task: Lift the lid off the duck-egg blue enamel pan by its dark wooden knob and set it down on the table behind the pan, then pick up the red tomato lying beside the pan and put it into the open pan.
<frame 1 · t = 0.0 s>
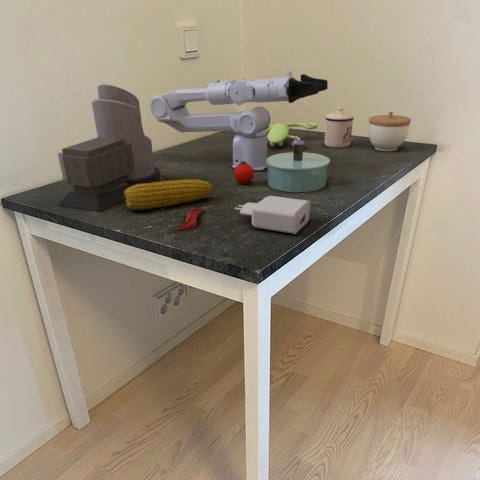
hand: (322, 86, 121), 22 cm above the table, tool horizontal, fingers open, 7 cm apart
charger: (268, 223, 102), on the table
food: (169, 205, 113), on the table
teacup with lid: (338, 144, 162), on the table
pan lid: (297, 161, 122), point 5 cm above the table, touching pan
tomato: (243, 173, 125), point 3 cm above the table
lidded bowl: (385, 149, 155), on the table
grey piece: (118, 190, 124), on the table
pan: (296, 183, 125), on the table
cayenne pepper: (191, 221, 104), on the table
figurine: (284, 143, 165), on the table
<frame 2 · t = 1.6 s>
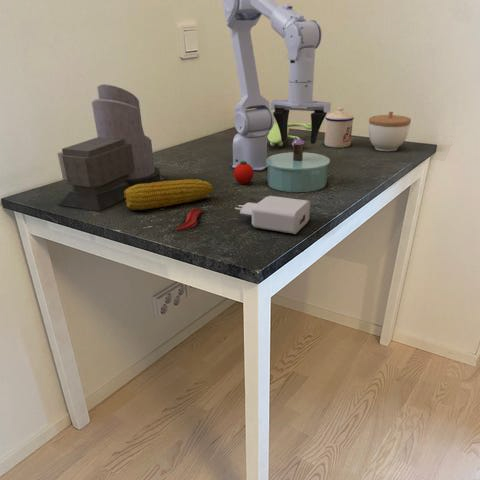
hand: (298, 141, 120), 10 cm above the table, tool pointing down, fingers open, 7 cm apart
nothing on the table moved.
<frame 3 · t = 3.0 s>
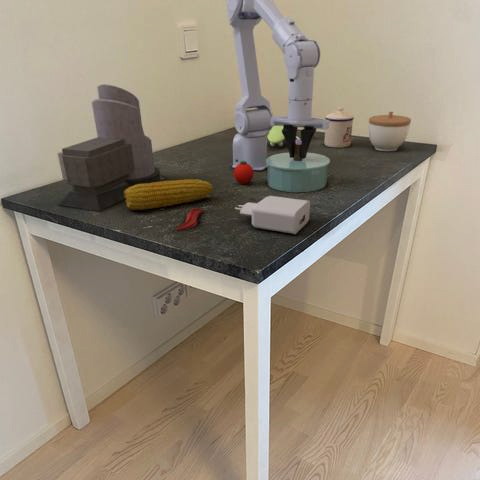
hand: (297, 157, 122), 7 cm above the table, tool pointing down, fingers closed on pan lid, 2 cm apart
pan lid: (297, 161, 122), point 5 cm above the table, touching gripper, pan
everything else where it was.
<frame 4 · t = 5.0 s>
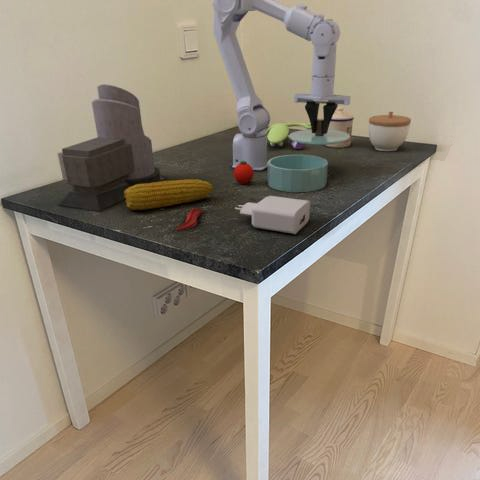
hand: (319, 133, 128), 10 cm above the table, tool pointing down, fingers closed on pan lid, 2 cm apart
pan lid: (319, 137, 128), point 9 cm above the table, touching gripper
everything else where it was.
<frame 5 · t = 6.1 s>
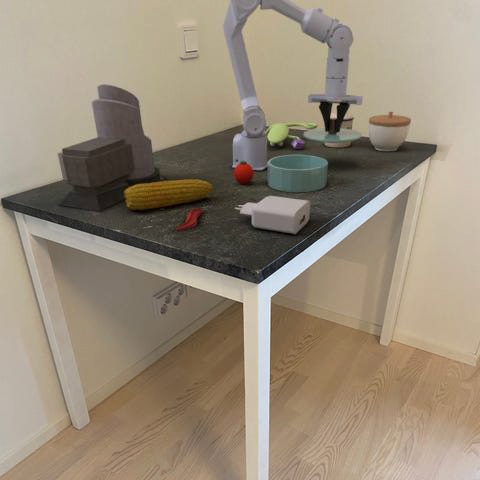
hand: (332, 131, 134), 9 cm above the table, tool pointing down, fingers closed on pan lid, 2 cm apart
pan lid: (332, 135, 135), point 8 cm above the table, touching gripper
everything else where it was.
when the fingers open (2 cm above the table, at t = 8.0 s): pan lid stays where it is, point 1 cm above the table.
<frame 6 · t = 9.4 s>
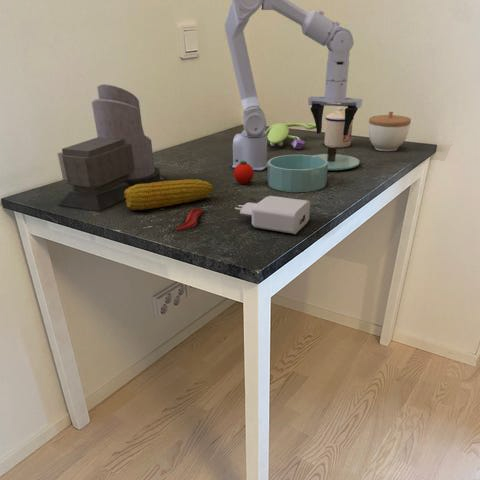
hand: (332, 133, 135), 9 cm above the table, tool pointing down, fingers open, 7 cm apart
pan lid: (331, 162, 140), point 1 cm above the table
everything else where it was.
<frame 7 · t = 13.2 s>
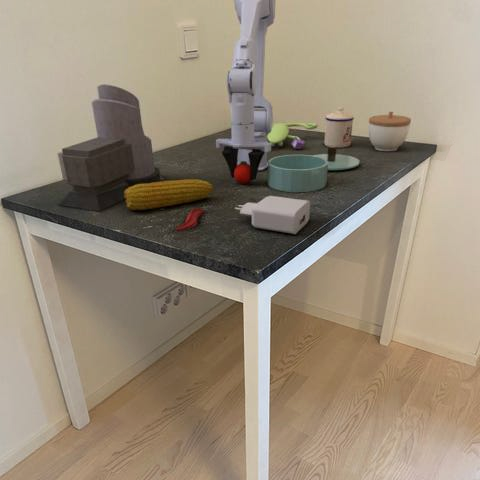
hand: (243, 177, 125), 1 cm above the table, tool pointing down, fingers closed on tomato, 5 cm apart
tomato: (243, 173, 125), point 3 cm above the table, touching gripper
everything else where it was.
when the fingers open (2 cm above the table, at t = 18.4 s): tomato moves 4 cm and tips over, resting on pan.
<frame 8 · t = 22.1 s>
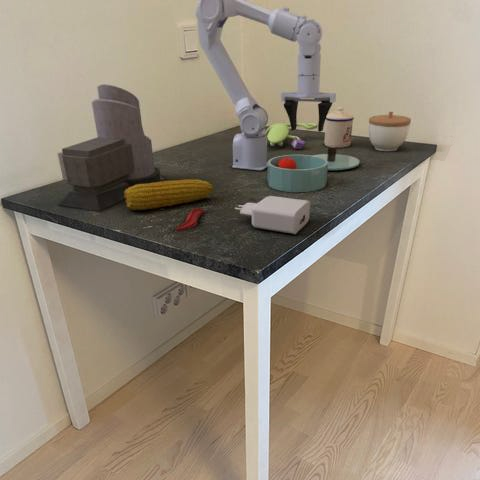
hand: (307, 130, 131), 10 cm above the table, tool pointing down, fingers open, 7 cm apart
tomato: (286, 168, 126), point 3 cm above the table, tilted 90°, touching pan
everything else where it was.
at the end: pan lid inside the target area (0.0 cm from its centre), point 0.6 cm above the table; pan lid tilted 0°; tomato inside the target area in the pan (4.0 cm from its centre), point 3.1 cm above the pan's base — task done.
